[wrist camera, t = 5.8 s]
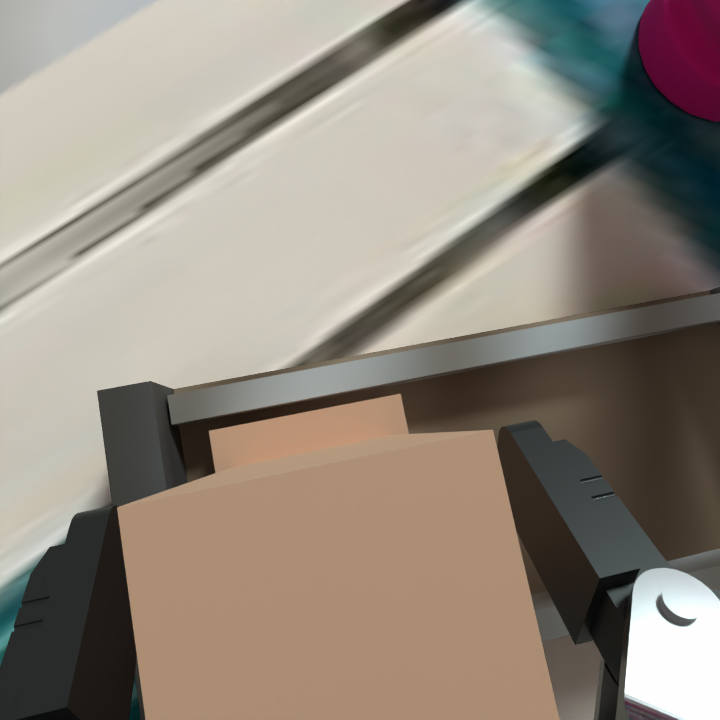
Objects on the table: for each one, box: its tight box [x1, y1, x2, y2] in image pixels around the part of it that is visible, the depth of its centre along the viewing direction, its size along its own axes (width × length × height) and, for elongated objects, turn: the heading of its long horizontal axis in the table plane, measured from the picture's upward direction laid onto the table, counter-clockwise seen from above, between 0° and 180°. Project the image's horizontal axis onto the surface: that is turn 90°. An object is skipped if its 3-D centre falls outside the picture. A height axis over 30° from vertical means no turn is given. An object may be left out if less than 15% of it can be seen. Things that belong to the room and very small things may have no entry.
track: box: [97, 287, 720, 720], centre depth 15 cm, size 20×9×4 cm, turn 102°
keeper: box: [117, 394, 560, 720], centre depth 10 cm, size 5×6×10 cm
